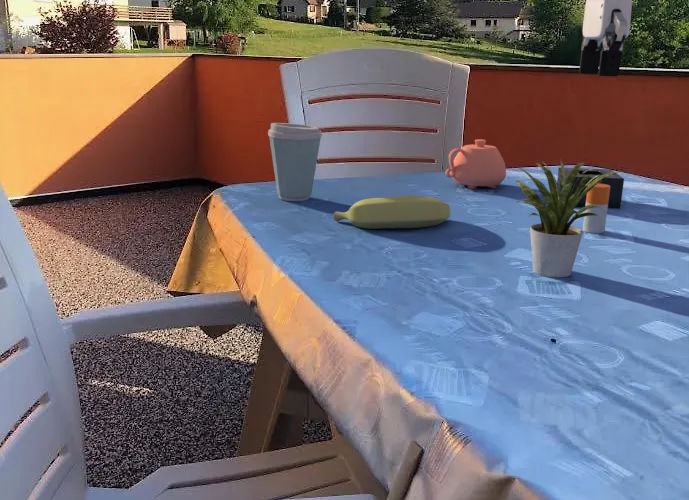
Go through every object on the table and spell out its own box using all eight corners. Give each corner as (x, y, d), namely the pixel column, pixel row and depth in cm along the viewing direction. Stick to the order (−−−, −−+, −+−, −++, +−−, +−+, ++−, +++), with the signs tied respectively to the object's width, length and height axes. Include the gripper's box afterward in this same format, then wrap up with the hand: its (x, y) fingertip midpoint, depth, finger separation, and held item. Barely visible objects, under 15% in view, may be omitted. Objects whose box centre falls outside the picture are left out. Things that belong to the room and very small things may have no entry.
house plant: (597, 258, 107) (610, 150, 102) (626, 288, 93) (643, 166, 89) (501, 254, 107) (510, 147, 103) (517, 284, 94) (528, 163, 90)
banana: (443, 191, 116) (325, 199, 120) (445, 225, 116) (326, 231, 120) (450, 196, 129) (343, 203, 133) (451, 227, 129) (344, 232, 133)
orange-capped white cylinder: (601, 228, 124) (607, 183, 122) (606, 234, 120) (612, 187, 118) (580, 227, 124) (585, 182, 122) (585, 233, 121) (590, 186, 119)
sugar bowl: (515, 189, 156) (519, 142, 153) (456, 192, 152) (459, 144, 149) (489, 179, 167) (493, 135, 164) (434, 181, 163) (436, 136, 160)
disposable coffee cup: (302, 190, 150) (302, 119, 146) (332, 200, 142) (333, 124, 138) (258, 196, 144) (257, 122, 140) (288, 206, 136) (287, 128, 131)
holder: (607, 197, 149) (610, 169, 148) (620, 208, 139) (624, 178, 138) (555, 195, 150) (558, 167, 149) (565, 206, 140) (568, 176, 139)
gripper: (655, -37, 109) (640, 77, 114) (613, -27, 125) (601, 73, 130) (607, -38, 109) (593, 76, 113) (571, -28, 125) (561, 72, 130)
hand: (597, 74), depth 122 cm, fingers open, 9 cm apart
